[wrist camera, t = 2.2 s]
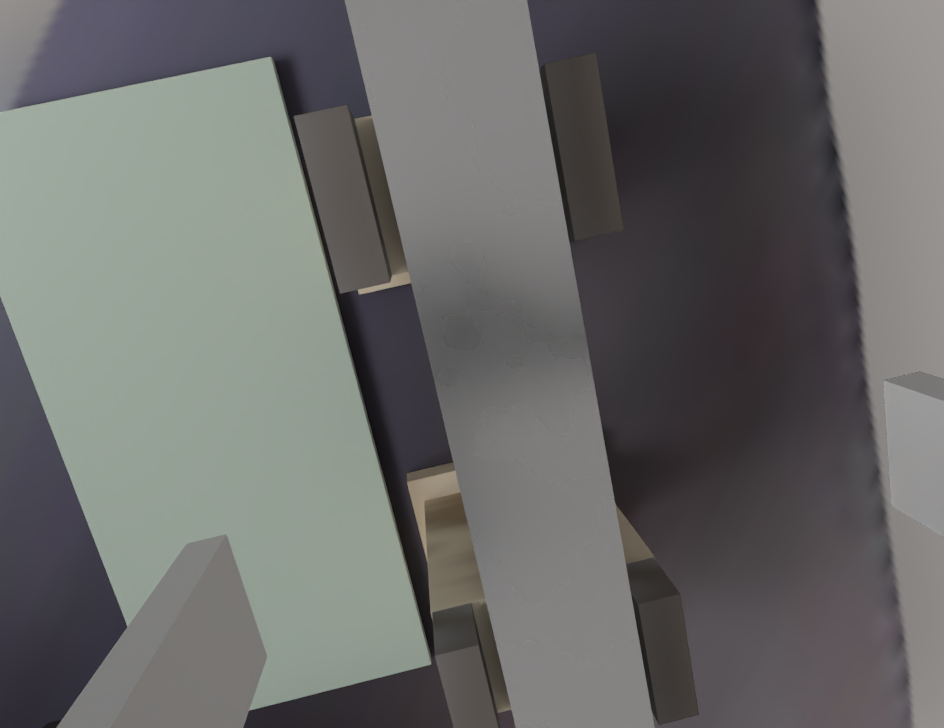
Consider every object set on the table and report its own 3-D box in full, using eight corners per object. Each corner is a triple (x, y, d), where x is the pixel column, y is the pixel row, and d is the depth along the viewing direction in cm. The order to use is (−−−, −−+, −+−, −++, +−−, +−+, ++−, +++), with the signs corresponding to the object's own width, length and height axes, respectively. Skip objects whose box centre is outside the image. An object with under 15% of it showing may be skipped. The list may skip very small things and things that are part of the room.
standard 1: (437, 594, 29) (454, 808, 18) (406, 472, 28) (406, 628, 17) (607, 551, 30) (721, 737, 19) (585, 430, 28) (694, 557, 18)
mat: (172, 720, 29) (167, 731, 29) (-54, 128, 23) (-66, 125, 23) (430, 655, 30) (431, 664, 29) (273, 60, 24) (270, 56, 23)
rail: (629, 733, 21) (672, 832, 18) (525, 760, 21) (548, 865, 17) (493, 1, 16) (516, -59, 13) (354, 29, 16) (339, -24, 12)
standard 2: (361, 292, 26) (327, 339, 15) (321, 138, 25) (256, 73, 14) (552, 249, 26) (651, 266, 16) (524, 95, 25) (612, 0, 14)
